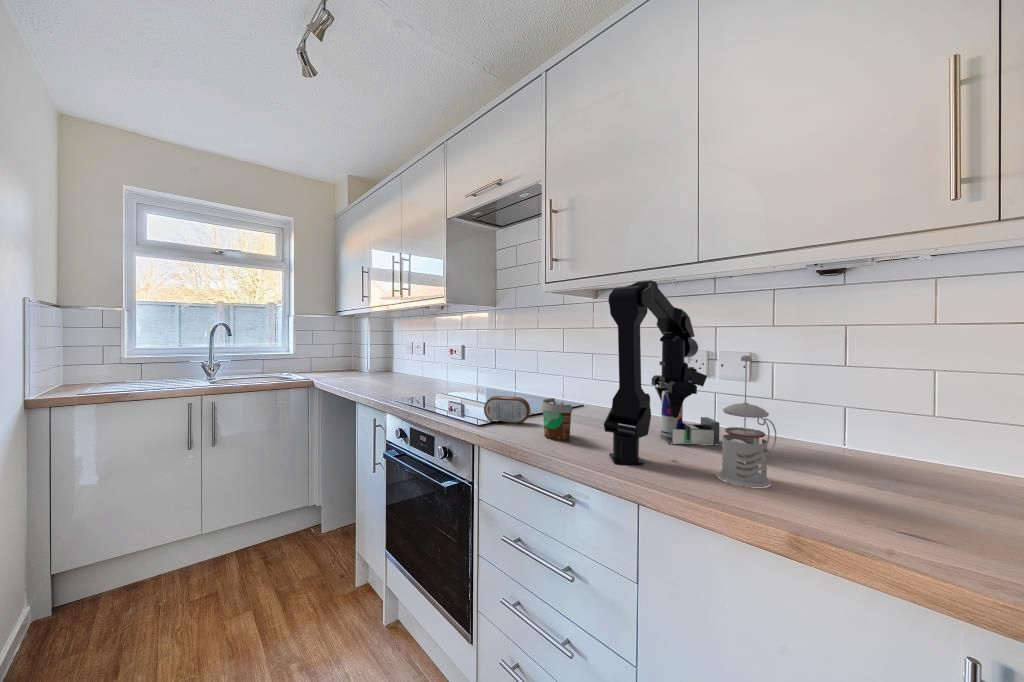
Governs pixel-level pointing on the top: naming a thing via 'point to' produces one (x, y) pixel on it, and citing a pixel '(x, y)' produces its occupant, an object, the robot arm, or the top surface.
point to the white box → (688, 428)
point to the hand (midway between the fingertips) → (671, 415)
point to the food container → (556, 420)
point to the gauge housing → (696, 433)
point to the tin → (507, 409)
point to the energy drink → (669, 418)
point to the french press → (745, 446)
